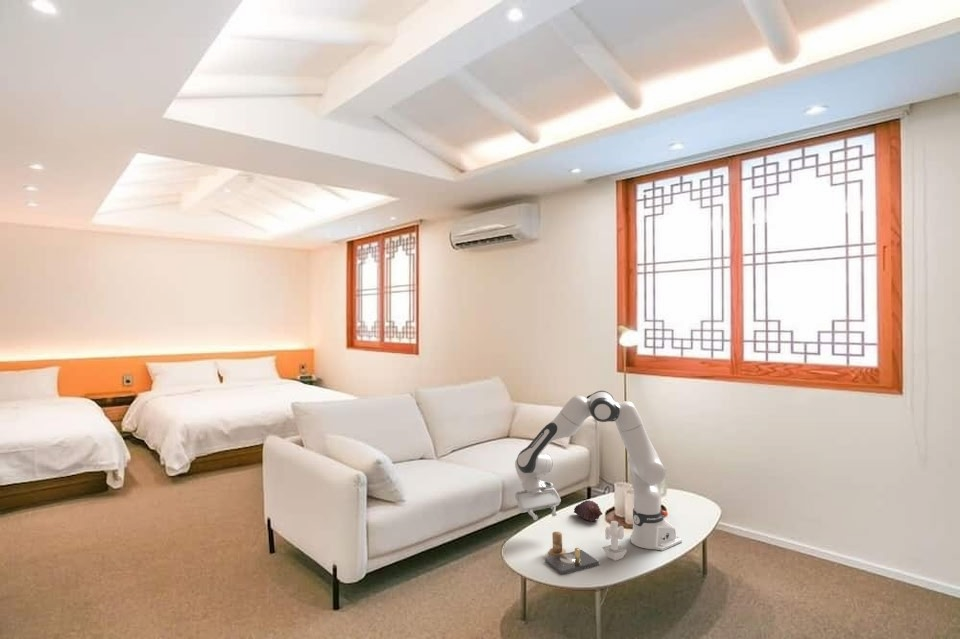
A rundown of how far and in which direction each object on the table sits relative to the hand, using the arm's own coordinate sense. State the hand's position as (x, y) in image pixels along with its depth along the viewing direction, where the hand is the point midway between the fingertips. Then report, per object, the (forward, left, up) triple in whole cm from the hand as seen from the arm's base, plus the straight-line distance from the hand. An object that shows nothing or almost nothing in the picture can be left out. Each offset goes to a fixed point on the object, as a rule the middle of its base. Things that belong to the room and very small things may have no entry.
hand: (545, 517), depth 233 cm
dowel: (0, +24, -11) cm, 26 cm away
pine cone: (-34, -16, -12) cm, 40 cm away
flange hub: (0, +9, -12) cm, 15 cm away
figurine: (-19, +23, -12) cm, 32 cm away
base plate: (0, +20, -12) cm, 23 cm away
